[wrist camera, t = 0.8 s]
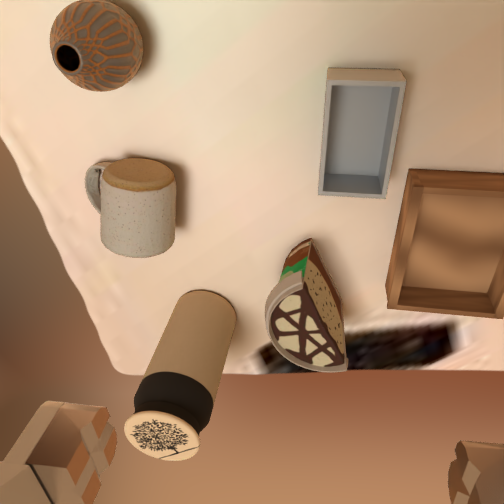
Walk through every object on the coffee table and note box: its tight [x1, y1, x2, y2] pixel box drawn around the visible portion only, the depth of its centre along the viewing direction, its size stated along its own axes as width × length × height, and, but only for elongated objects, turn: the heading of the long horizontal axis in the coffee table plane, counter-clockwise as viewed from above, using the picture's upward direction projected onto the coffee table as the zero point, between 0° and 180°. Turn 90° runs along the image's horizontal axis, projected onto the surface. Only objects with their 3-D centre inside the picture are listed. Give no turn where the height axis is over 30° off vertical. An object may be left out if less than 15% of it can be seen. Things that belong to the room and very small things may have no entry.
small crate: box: [318, 68, 406, 199], centre depth 38 cm, size 10×6×4 cm, turn 1°
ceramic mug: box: [85, 158, 176, 258], centre depth 44 cm, size 11×8×8 cm
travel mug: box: [124, 291, 236, 461], centre depth 49 cm, size 8×8×18 cm
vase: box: [50, 0, 143, 92], centre depth 36 cm, size 7×7×9 cm
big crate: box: [385, 169, 504, 319], centre depth 43 cm, size 14×12×4 cm
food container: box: [265, 238, 348, 372], centre depth 47 cm, size 12×6×10 cm, turn 27°
